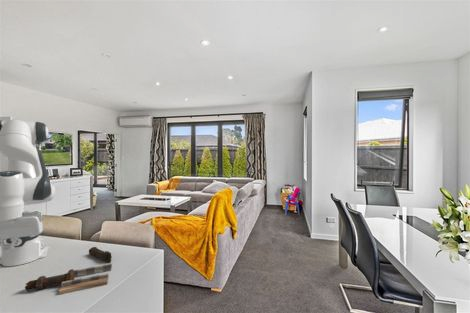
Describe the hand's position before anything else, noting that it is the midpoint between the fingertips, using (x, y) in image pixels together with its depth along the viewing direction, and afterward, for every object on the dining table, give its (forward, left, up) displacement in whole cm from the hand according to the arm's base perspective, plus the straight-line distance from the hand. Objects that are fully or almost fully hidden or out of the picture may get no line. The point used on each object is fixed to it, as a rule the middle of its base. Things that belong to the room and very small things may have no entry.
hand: (7, 249), depth 82 cm
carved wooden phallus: (-21, +28, -17) cm, 39 cm away
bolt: (0, +13, -17) cm, 22 cm away
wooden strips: (0, +26, -17) cm, 31 cm away
